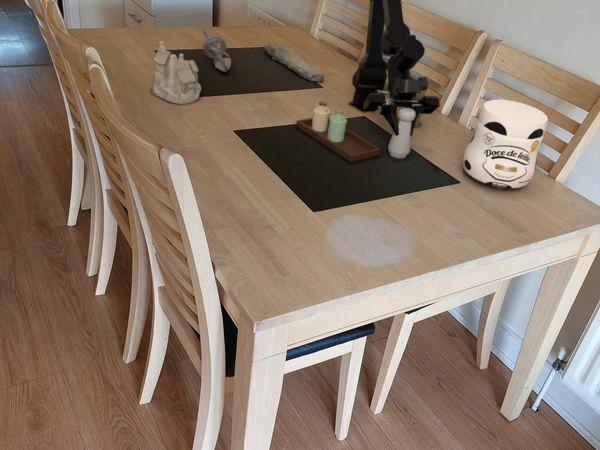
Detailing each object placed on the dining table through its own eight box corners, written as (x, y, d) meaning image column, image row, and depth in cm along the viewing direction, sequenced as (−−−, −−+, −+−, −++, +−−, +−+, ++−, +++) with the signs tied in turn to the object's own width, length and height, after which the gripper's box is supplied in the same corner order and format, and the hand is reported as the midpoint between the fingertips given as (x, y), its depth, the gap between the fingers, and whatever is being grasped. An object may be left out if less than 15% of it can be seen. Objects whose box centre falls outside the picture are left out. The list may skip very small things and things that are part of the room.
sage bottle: (336, 134, 161) (340, 106, 157) (346, 140, 158) (351, 112, 154) (323, 136, 159) (328, 108, 154) (334, 143, 156) (338, 114, 152)
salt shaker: (410, 155, 157) (421, 108, 150) (406, 163, 152) (417, 116, 145) (388, 149, 158) (398, 103, 151) (384, 157, 153) (394, 110, 146)
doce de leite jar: (491, 200, 141) (515, 130, 131) (445, 166, 153) (463, 100, 143) (543, 190, 148) (569, 123, 138) (495, 159, 161) (515, 95, 151)
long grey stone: (304, 87, 194) (329, 86, 199) (307, 72, 191) (333, 71, 197) (256, 48, 217) (279, 48, 222) (258, 34, 214) (281, 34, 220)
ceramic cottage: (171, 105, 166) (173, 51, 159) (142, 88, 176) (143, 36, 169) (218, 100, 175) (222, 48, 168) (188, 84, 186) (190, 34, 178)
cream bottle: (320, 124, 166) (324, 99, 162) (330, 130, 163) (334, 104, 159) (308, 126, 163) (311, 101, 159) (317, 132, 160) (321, 107, 156)
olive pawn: (421, 122, 177) (430, 86, 171) (416, 128, 172) (425, 92, 167) (402, 116, 179) (410, 81, 173) (396, 123, 174) (404, 87, 168)
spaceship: (218, 21, 215) (198, 13, 211) (243, 63, 190) (221, 54, 186) (209, 41, 219) (189, 33, 214) (232, 84, 194) (210, 76, 189)
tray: (324, 122, 169) (325, 115, 168) (379, 156, 154) (381, 149, 153) (295, 127, 163) (296, 120, 162) (350, 163, 148) (351, 156, 147)
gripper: (375, 61, 144) (379, 122, 141) (446, 65, 148) (452, 125, 145) (361, 81, 154) (365, 138, 151) (428, 85, 158) (433, 140, 155)
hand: (404, 135), depth 150 cm, fingers closed on salt shaker, 3 cm apart
